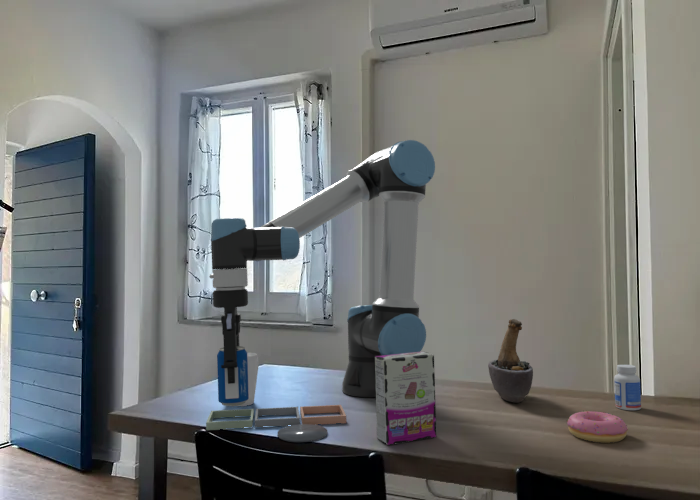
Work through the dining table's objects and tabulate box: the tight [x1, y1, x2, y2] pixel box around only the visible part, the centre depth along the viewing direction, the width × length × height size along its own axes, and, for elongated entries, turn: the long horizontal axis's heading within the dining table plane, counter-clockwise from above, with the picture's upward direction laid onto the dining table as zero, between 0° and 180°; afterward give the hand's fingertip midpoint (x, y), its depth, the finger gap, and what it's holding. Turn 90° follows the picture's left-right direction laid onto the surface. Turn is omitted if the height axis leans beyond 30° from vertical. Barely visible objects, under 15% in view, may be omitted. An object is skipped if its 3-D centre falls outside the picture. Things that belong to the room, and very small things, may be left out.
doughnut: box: [566, 410, 629, 444], centre depth 110 cm, size 11×11×4 cm
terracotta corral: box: [299, 404, 347, 425], centre depth 125 cm, size 10×10×2 cm
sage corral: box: [205, 408, 255, 431], centre depth 122 cm, size 10×10×2 cm
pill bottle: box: [613, 364, 642, 411], centre depth 130 cm, size 6×5×10 cm
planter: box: [488, 318, 534, 404], centre depth 140 cm, size 15×17×20 cm
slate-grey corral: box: [254, 406, 301, 428], centre depth 123 cm, size 10×10×2 cm
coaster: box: [277, 423, 328, 443], centre depth 113 cm, size 10×10×1 cm
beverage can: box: [216, 345, 249, 407], centre depth 123 cm, size 6×6×12 cm
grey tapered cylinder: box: [238, 351, 259, 407], centre depth 139 cm, size 9×9×12 cm
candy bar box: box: [375, 351, 437, 446], centre depth 110 cm, size 11×5×16 cm, turn 114°
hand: (233, 393), depth 122 cm, fingers closed on beverage can, 6 cm apart
